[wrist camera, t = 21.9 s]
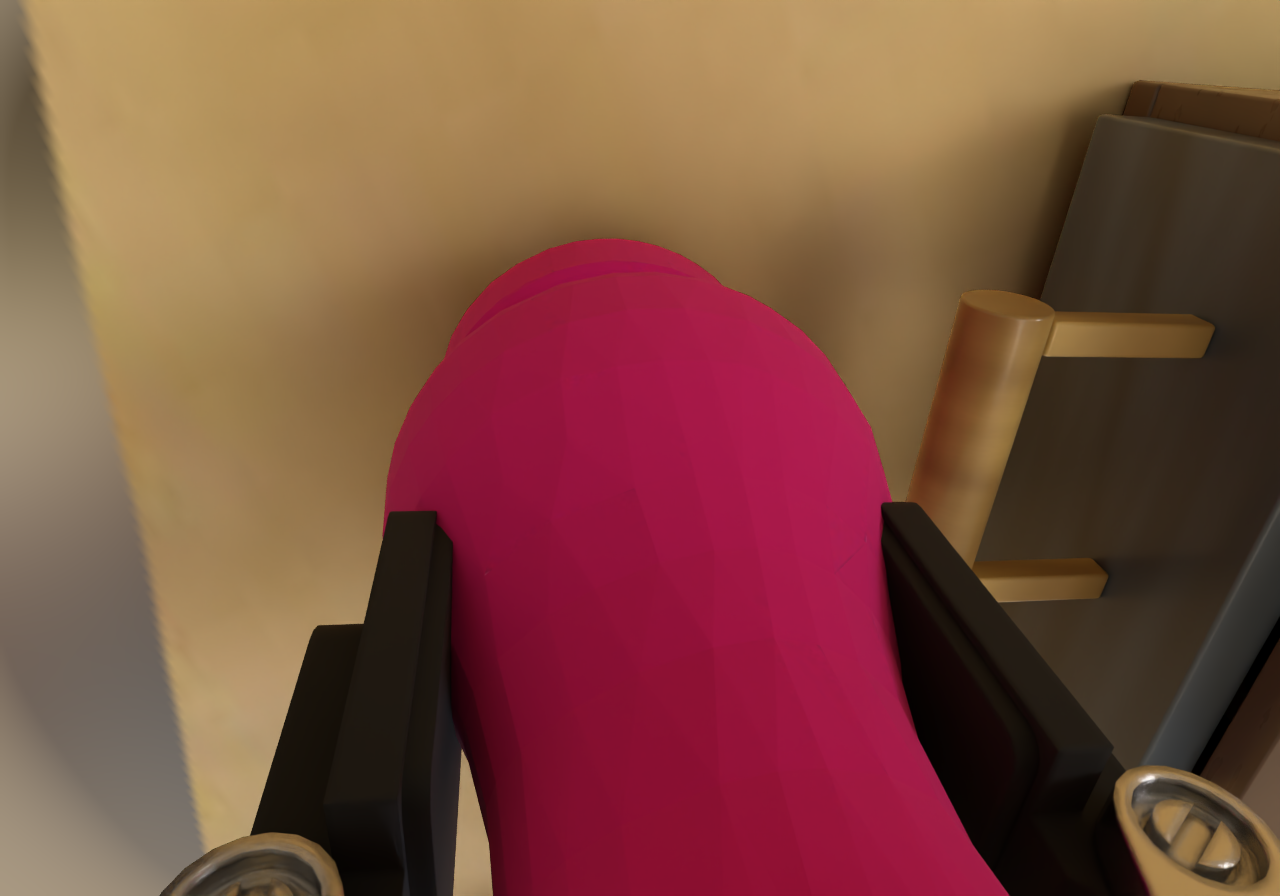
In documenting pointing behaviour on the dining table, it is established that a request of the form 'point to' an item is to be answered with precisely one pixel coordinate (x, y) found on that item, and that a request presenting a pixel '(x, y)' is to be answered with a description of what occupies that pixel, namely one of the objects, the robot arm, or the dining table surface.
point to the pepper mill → (670, 595)
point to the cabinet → (1276, 703)
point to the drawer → (1130, 437)
